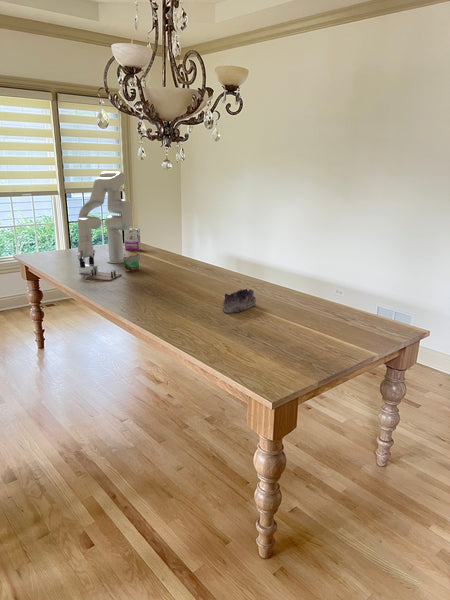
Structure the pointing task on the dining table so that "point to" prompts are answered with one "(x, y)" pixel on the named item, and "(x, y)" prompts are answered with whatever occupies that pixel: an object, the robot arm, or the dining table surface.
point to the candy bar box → (132, 239)
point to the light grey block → (87, 269)
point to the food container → (131, 263)
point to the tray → (103, 277)
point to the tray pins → (111, 272)
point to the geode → (239, 301)
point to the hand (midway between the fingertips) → (87, 265)
